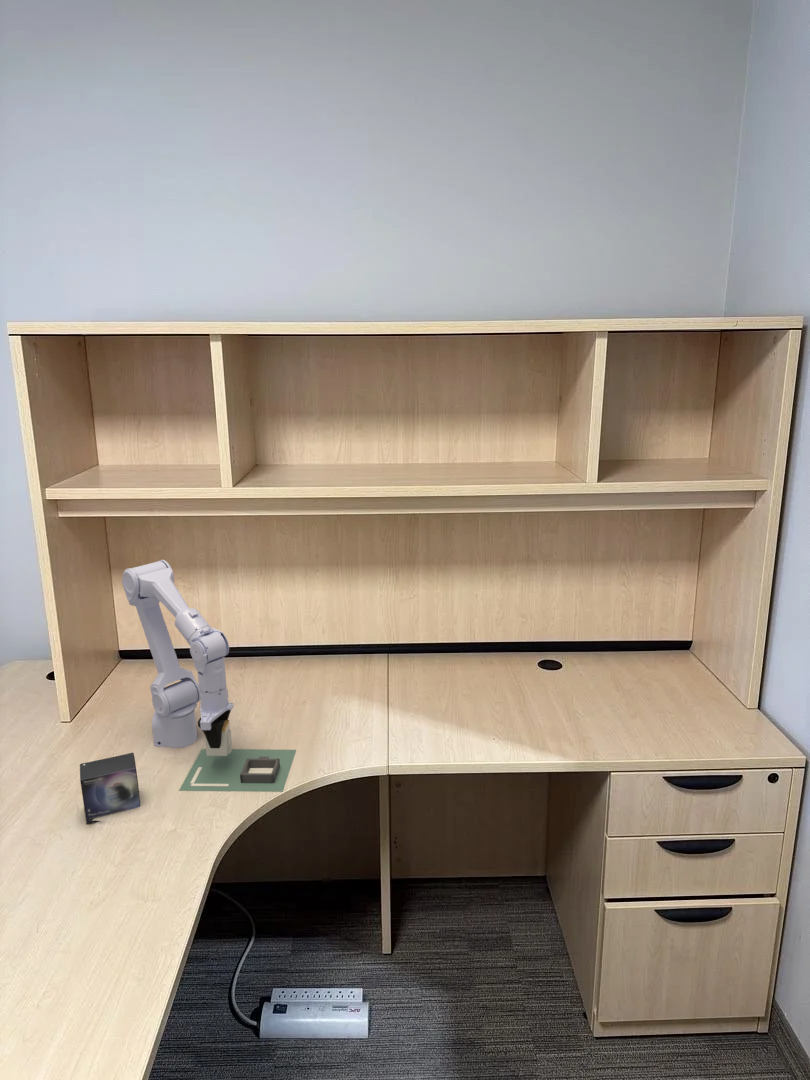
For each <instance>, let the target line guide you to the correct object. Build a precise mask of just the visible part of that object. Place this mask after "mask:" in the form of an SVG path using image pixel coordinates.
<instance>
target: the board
mask: <svg viewBox="0 0 810 1080" xmlns="http://www.w3.org/2000/svg"><path fill="white" fill-rule="evenodd" d="M296 752H297V749H270V748H269V749H268V748H266V749H264V748H263V749H258V748H257V749H251V748H249V749H247V748H246V749H244V748H240V749H239V748H238V749H237V748H232V751H231V753H230V754H228V755H227V756H207V754H206V748H201V749H200V751H199V753H198V755H197V757H196V759H195V760H194V762H193V763H192V766H191V768H190V769H189V771H188V773H187V775H186V777H185V778H184V780H183V783H182V784H181V785H180V788H179V789H178V792H257V793H258V792H260V793H262V792H264V793H265V792H266V793H267V792H269V793H274V792H275V793H282V792H283V791H284V789H285V785H286V783H287V779H288V777H289V773H290V771H291V768H292V764H293V761H294V758H295V755H296Z"/></svg>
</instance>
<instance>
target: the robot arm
mask: <svg viewBox="0 0 810 1080" xmlns="http://www.w3.org/2000/svg"><path fill="white" fill-rule="evenodd" d="M121 585H122V587H123V591H124V593H125V596H126V599H127V601H128V604H129V605H130V606H132V607H135V608H136V611H137V615H138V618H139V621H140V623H141V627H142V630H143V632H144V636H145V638H146V641H147V645H148V648H149V650H150V653H151V656H152V659H153V663H154V665H155V668H156V671H157V673H158V674H157V675H156V677H155V679H154V680H153V681H152V683H151V685H150V688H149V689H150V692H151V701H152V705H153V709H154V713H153V715H152V720H151V721H152V722H151V729H152V738H153V739H152V740H153V746H154V747H158V748H160V747H163V748H164V747H165V748H166V747H167V748H172V749H180V748H186V747H189V746H191V745H193V744H195V743H196V742H197V740H198V729H197V726H198V727H199V729H200V730H201V731H202V733H203V734H204V737H205V736H206V739H207V741H208V744H209V746H210V748H220V745H221V735H222V728H223V725H224V722H225V720H229V717H230V714H231V711H232V710H233V709H234V703H233V702H229V690H228V689H227V687H228V686H227V676H226V664H225V663H226V662H225V661H226V660H225V657H226V656H228V655H229V653H230V644H229V640H228V638H227V636H226V635H225V633H224V632H223V631H222V630H219V629H217V628H216V627H212V626H210V624H209V623H208V621H206V619H205V617H204V616H203V615H202V614H201V613H200V611H199V610H198V609H197V608H193V607H192V608H191V607H189V605H188V604H187V602H186V600H185V599H184V597H183V596H182V594H181V592H180V591H179V589H178V588H177V586H176V584H175V573H174V571H173V568H172V566H171V565H170V564H169V562H168V561H167V560H165V559H160V560H158V561H155V562H151V563H150V562H149V563H146V564H142V565H140V566H139V565H138V566H135V567H131V568H130V567H129V568H126V569H125V570H124V571H123V574H122V579H121ZM160 603H161V604H162V605H163V606H164V607H165V608H166V609H167V610H168V612H169V613H171V614H172V616H173V617H174V618H175V620H174V627H175V628H176V629H177V630H178V632H179V633H180V634H181V635H182V637H183V639H184V640H185V641H186V642H187V644H188V645H189V646H190V647H189V652H190V656H191V657H192V660H193V664H194V666H193V667H194V669H195V670H196V671H197V678H198V681H197V680H196V678H195V676H194V674H193V671H191V670H188V669H185V668H183V667H181V665H180V663H179V660H178V657H177V653H176V650H175V648H174V645H173V642H172V639H171V636H170V632H169V631H168V626H167V624H166V622H165V618H164V616H163V612H162V609H161V607H160ZM179 680H180V681H179ZM174 682H175V683H174ZM169 684H170V685H169ZM198 703H200V706H199V709H200V710H199V711H200V717H199V719H198V721H196V719H197V718H196V708H197V707H198Z"/></svg>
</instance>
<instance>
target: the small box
mask: <svg viewBox="0 0 810 1080" xmlns="http://www.w3.org/2000/svg"><path fill="white" fill-rule="evenodd" d="M137 773H138V771H137V765H136V758H135V754H134V752H130V753H125V754H121V755H116V756H111V757H106V758H103V759H98V760H93V761H88V762H82V763H80V764H79V782H80V787H81V795H82V801H83V808H84V810H83V811H84V815H85V823H86V825H89V824H93V823H97V822H99V820H94V819H97V818H100V817H104V816H109V815H113V814H117V813H121V812H122V813H123V812H126V811H130V810H133V809H137V808H140V807H141V799H140V797H141V796H140V790H139V789H140V788H139V780H138V774H137Z"/></svg>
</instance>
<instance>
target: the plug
mask: <svg viewBox="0 0 810 1080" xmlns="http://www.w3.org/2000/svg"><path fill="white" fill-rule="evenodd" d="M230 727H231V726H230V719H228V720H225V722H224V725H223V728H222V735H221V745H220V748H210V746H209V744H208V741H207V739H206V736H205V735H204V742H205V749H206V754H207V756H227V755H228V754H230V753H231V751H232V749H233V743H232V730H231V728H230Z"/></svg>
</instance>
